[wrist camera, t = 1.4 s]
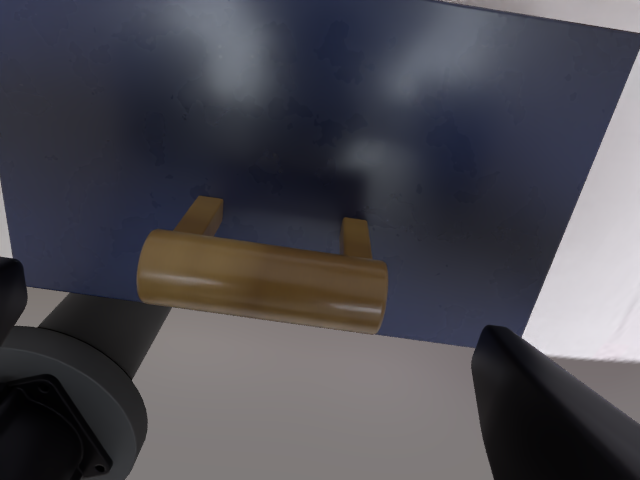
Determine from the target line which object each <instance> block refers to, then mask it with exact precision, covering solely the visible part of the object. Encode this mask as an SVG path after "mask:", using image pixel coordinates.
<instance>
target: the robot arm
mask: <svg viewBox="0 0 640 480" xmlns="http://www.w3.org/2000/svg"><path fill="white" fill-rule="evenodd" d="M26 304H27V288H26V282H25V275H24V268H23V265H22V263H21V262H20V261H19V260H17V259H13V258H5V257H0V348H1V346H2V344H3V343H4V341H5V340H6V338H7V336H8V335H9V333H10V332H11V330H12V328H13V327H14V325H15V324H16V322H17V320H18V319H19V317H20V315H21V314H22V312H23V311H24V309H25V306H26ZM471 369H472V375H473V382H474V388H475V394H476V401H477V407H478V413H479V420H480V426H481V431H482V437H483V441H484V445H485V449H486V453H487V456H488V460H489V463H490V467H491V470H492V474H493V478H494V480H640V424H639V423H637V422H636V421H634V420H633V419H632V418H630V417H629V416H627V415H626V414H625V413H623V412H622V411H621V410H619V409H618V408H617V407H615V406H614V405H612V404H611V403H610V402H608V401H607V400H606V399H604V398H603V397H602V396H600V395H599V394H598V393H596V392H595V391H593V390H592V389H590V388H589V387H588V386H587V385H585V384H584V383H582V382H581V381H580V380H578V379H577V378H576V377H574V376H573V375H572V374H570V373H569V372H567V371H566V370H565V369H563V368H562V367H561V366H559V365H558V364H556V363H555V362H554V361H552V360H551V359H550V358H548V357H547V356H546V355H544V354H543V353H542V352H540V351H539V350H537V349H536V348H535V347H533V346H532V345H531V344H529V343H528V342H527V341H525V340H524V339H522V338H521V337H520V336H518V335H517V334H516V333H514V332H513V331H512V330H510V329H509V328H507V327H503V326H496V325H486V326H485V327H484V328H483V330H482V332H481V335H480V337H479V340H478V343H477V346H476V348H475V351H474V354H473V357H472V364H471ZM112 466H113V461H112V459H111V458H110V456H109V455H108V453H107V452H106V450H105V449H104V447H103V446H102V444H101V443H100V441H99V440H98V438H97V437H96V435H95V434H94V432H93V431H92V429H91V428H90V426H89V425H88V423H87V422H86V420H85V419H84V417H83V416H82V414H81V413H80V411H79V410H78V408H77V407H76V405H75V404H74V402H73V401H72V399H71V398H70V396H69V395H68V393H67V392H66V390H65V389H64V387H63V386H62V384H61V383H60V381H59V380H58V379H57V378H56V377H55V376H53V375H51V374H40V375H36V376H31V377H27V378H22V379H17V380H13V381H8V382H0V480H80V479H86V478H92V477H97V476H103V475H106V474H108V473H109V472H110V470H111V468H112Z"/></svg>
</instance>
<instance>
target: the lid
mask: <svg viewBox="0 0 640 480" xmlns="http://www.w3.org/2000/svg"><path fill="white" fill-rule="evenodd" d="M639 49H640V33H636V32H630V31H624V30H617V29H611V28H605V27H599V26H593V25H587V24H580V23H574V22H568V21H562V20H556V19H549V18H543V17H537V16H531V15H525V14H519V13H512V12H506V11H500V10H494V9H488V8H482V7H475V6H469V5H463V4H457V3H451V2H445V1H438V0H0V180H1V187H2V193H3V199H4V205H5V212H6V218H7V224H8V230H9V236H10V243H11V249H12V255H13V259H17V260H19V261H20V262H21V263H22V265H23V268H24V275H25V282H26V286H27V287H34V288H41V289H49V290H56V291H63V292H70V293H78V294H85V295H92V296H99V297H107V298H114V299H121V300H129V301H136V302H143V303H146V304H153V305H160V306H167V307H175V308H182V309H189V310H197V311H204V312H211V313H218V314H226V315H233V316H240V317H248V318H255V319H262V320H269V321H276V322H284V323H291V324H298V325H306V326H313V327H320V328H328V329H335V330H342V331H349V332H356V333H364V334H371V335H373V334H376V335H383V336H390V337H398V338H405V339H412V340H419V341H427V342H434V343H441V344H448V345H456V346H463V347H470V348H476V346H477V343H478V340H479V337H480V335H481V332H482V330H483V328H484V327H485V326H486V325H496V326H503V327H507V328H509V329H510V330H512V331H513V332H514V333H516V334H517V335H518V336H520V337H522V335H523V332H524V330H525V327H526V325H527V322H528V320H529V318H530V315H531V313H532V310H533V308H534V305H535V303H536V301H537V298H538V296H539V293H540V291H541V288H542V286H543V283H544V281H545V279H546V276H547V274H548V271H549V269H550V266H551V264H552V261H553V259H554V257H555V254H556V252H557V249H558V247H559V244H560V242H561V240H562V237H563V235H564V232H565V230H566V227H567V225H568V222H569V220H570V218H571V215H572V213H573V210H574V208H575V205H576V203H577V200H578V198H579V196H580V193H581V191H582V188H583V186H584V183H585V181H586V179H587V176H588V174H589V171H590V169H591V166H592V164H593V161H594V159H595V157H596V154H597V152H598V149H599V147H600V144H601V142H602V139H603V137H604V135H605V132H606V130H607V127H608V125H609V122H610V120H611V118H612V115H613V113H614V110H615V108H616V105H617V103H618V100H619V98H620V96H621V93H622V91H623V88H624V86H625V83H626V81H627V78H628V76H629V74H630V71H631V69H632V66H633V64H634V61H635V59H636V57H637V54H638V52H639Z"/></svg>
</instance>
